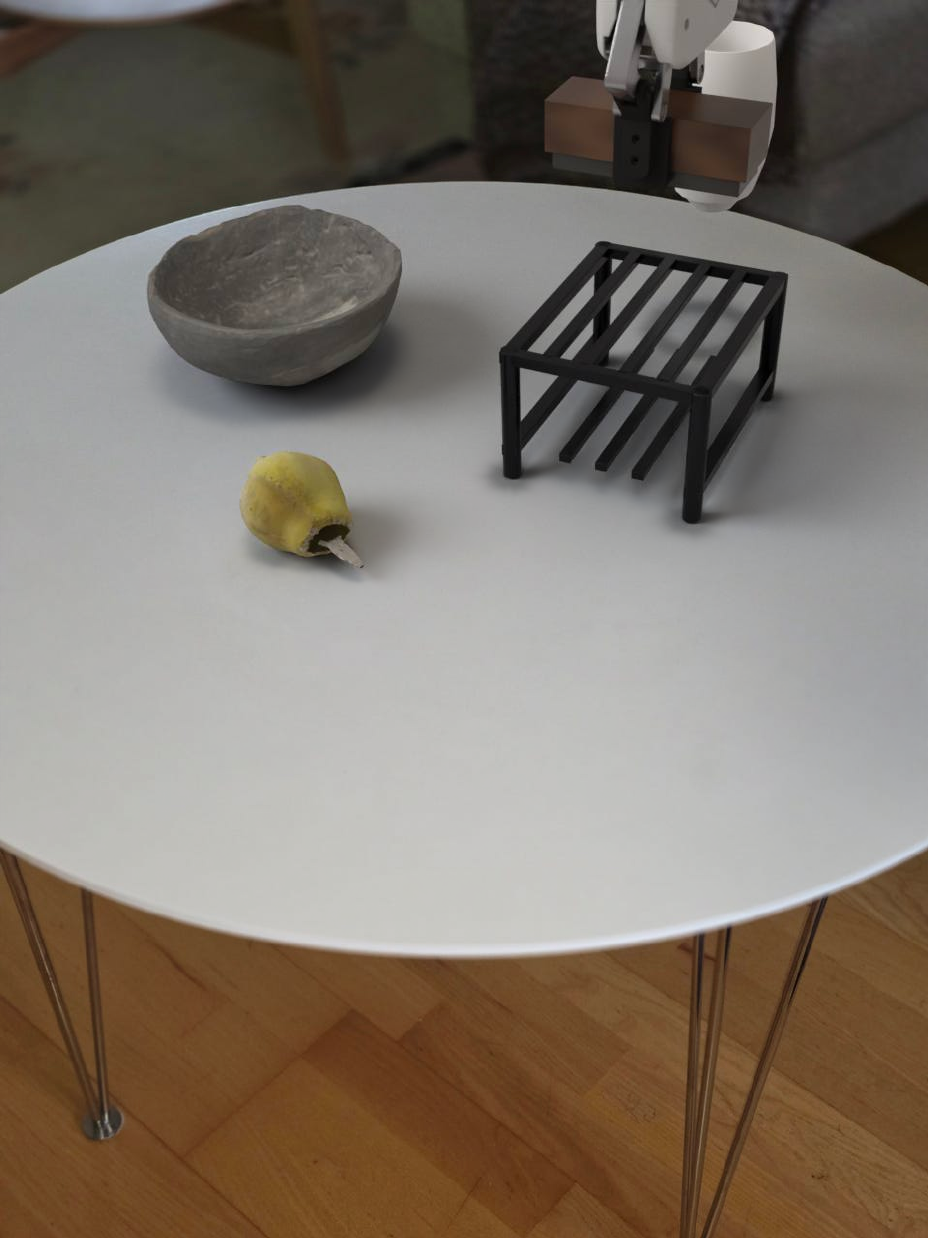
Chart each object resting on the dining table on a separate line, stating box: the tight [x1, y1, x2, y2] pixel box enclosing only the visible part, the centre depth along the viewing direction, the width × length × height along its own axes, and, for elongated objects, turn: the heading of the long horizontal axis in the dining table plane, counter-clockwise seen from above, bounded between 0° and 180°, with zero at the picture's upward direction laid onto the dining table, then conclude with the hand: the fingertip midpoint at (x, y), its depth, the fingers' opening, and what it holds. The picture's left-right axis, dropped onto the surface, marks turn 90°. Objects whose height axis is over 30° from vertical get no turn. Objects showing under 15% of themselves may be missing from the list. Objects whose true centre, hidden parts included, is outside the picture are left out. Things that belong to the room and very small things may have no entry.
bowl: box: [146, 204, 403, 387], centre depth 97 cm, size 18×18×8 cm
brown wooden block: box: [544, 75, 773, 197], centre depth 77 cm, size 12×4×4 cm, turn 64°
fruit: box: [239, 450, 365, 569], centre depth 81 cm, size 6×6×10 cm
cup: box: [674, 20, 778, 213], centre depth 94 cm, size 7×7×21 cm
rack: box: [498, 240, 789, 524], centre depth 87 cm, size 13×16×9 cm
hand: (655, 165), depth 78 cm, fingers closed on brown wooden block, 4 cm apart
